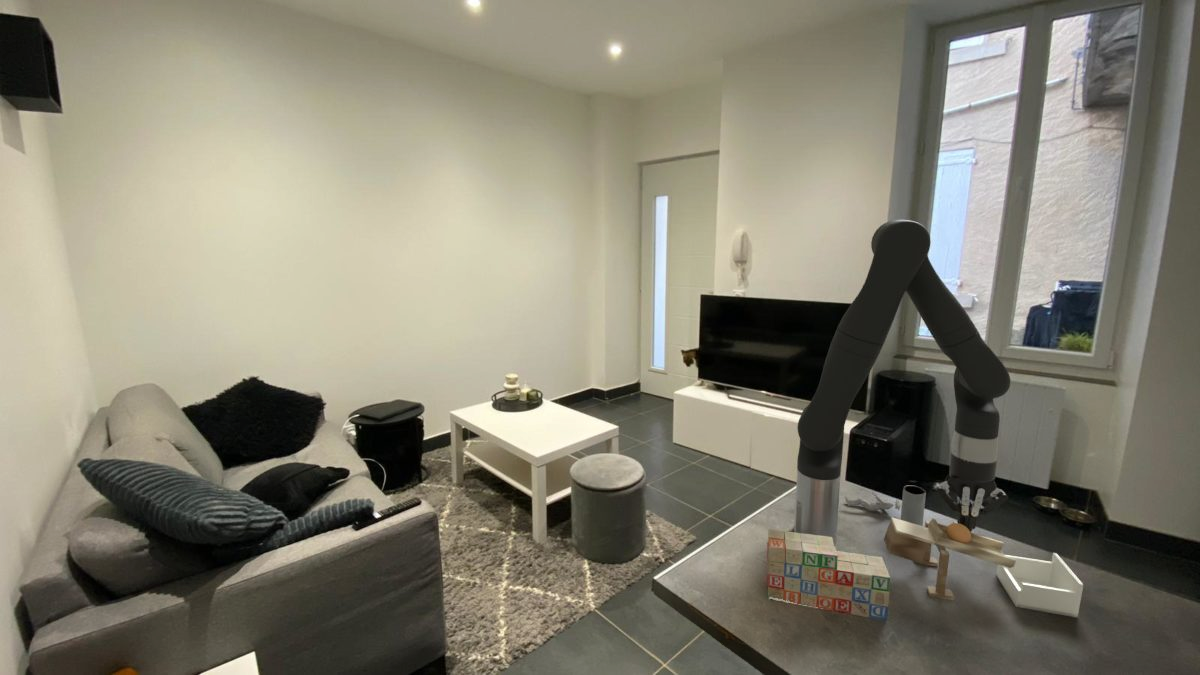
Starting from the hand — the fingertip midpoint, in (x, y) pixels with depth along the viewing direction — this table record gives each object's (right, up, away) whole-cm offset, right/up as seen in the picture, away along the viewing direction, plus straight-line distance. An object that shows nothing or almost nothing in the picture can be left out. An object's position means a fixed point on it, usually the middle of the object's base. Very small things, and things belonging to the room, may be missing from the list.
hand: (966, 528), depth 103 cm
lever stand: (-9, -9, -2) cm, 13 cm away
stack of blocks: (-33, -12, -6) cm, 36 cm away
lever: (-7, -5, -1) cm, 9 cm away
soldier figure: (-7, -4, +23) cm, 24 cm away
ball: (-6, +1, -5) cm, 8 cm away
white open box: (+7, -10, -8) cm, 15 cm away
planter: (-2, -6, +15) cm, 16 cm away
